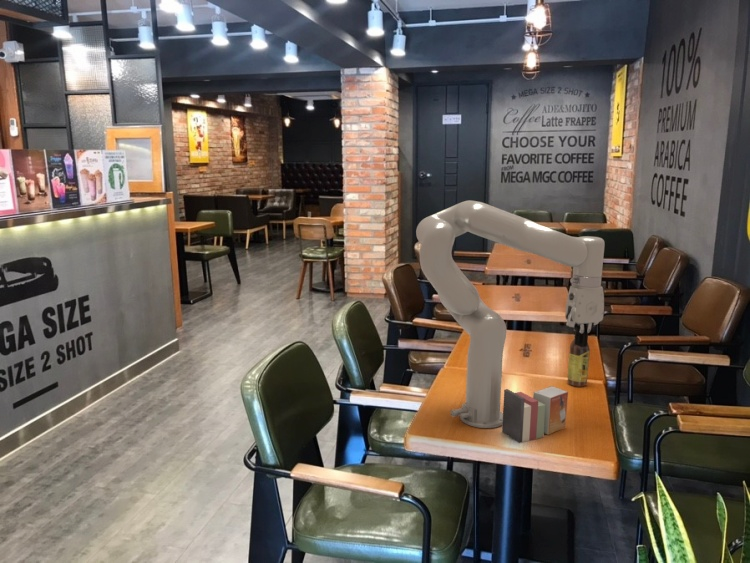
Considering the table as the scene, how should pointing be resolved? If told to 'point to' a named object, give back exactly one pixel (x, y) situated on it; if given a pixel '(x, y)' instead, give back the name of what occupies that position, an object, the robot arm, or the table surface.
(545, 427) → the small box
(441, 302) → the robot arm
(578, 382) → the sauce bottle
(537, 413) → the book row
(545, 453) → the table surface
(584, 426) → the table surface
